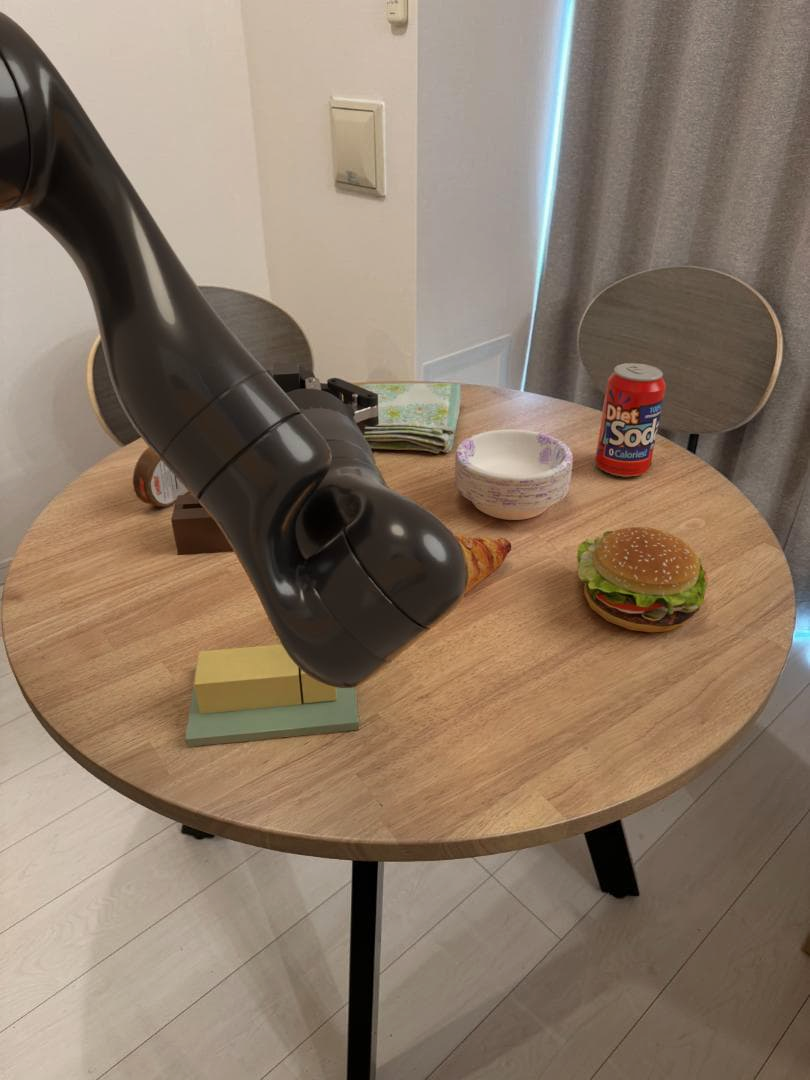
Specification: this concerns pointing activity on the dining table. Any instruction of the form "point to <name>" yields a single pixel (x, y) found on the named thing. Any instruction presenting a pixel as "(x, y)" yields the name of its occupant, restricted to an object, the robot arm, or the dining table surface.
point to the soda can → (630, 419)
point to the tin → (156, 481)
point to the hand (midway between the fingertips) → (283, 379)
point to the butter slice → (316, 690)
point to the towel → (415, 416)
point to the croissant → (482, 556)
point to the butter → (246, 679)
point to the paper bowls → (513, 472)
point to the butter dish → (272, 720)
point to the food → (642, 578)
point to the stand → (196, 528)
